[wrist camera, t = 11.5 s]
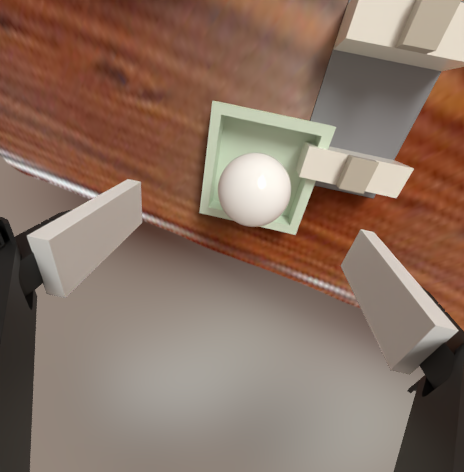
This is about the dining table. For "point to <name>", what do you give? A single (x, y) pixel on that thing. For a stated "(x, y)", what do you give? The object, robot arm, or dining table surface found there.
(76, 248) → the robot arm
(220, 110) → the tray
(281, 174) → the lightbulb
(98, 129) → the dining table surface
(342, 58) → the holder
